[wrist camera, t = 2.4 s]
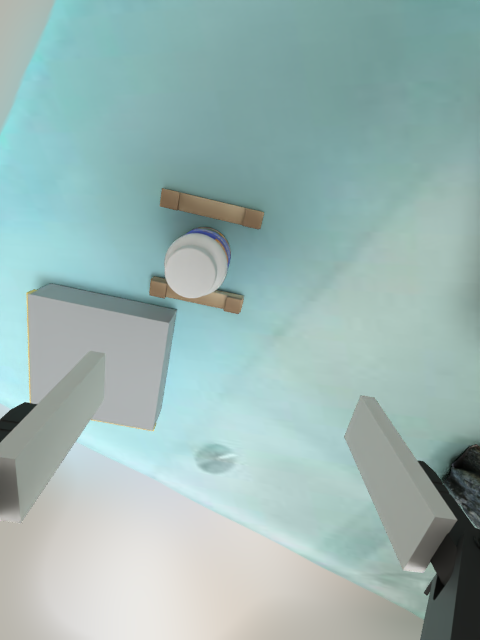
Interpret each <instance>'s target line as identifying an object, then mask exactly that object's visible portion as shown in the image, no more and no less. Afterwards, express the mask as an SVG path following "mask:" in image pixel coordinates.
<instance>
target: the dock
mask: <svg viewBox="0 0 480 640" xmlns="http://www.w3.org/2000/svg"><path fill="white" fill-rule="evenodd" d="M176 312H177V310H175V309H170V308H166V307H161V306H156V305H151V304H147V303H142V302H137V301H132V300H128V299H123V298H118V297H113V296H109V295H104V294H99V293H94V292H90V291H85V290H80V289H75V288H71V287H66V286H61V285H56V284H48V285H46V286H44V287H42V288H39V289H37V290H35V289H34V290H32V291H29V292H27V325H28V358H29V391H30V403H33V404H38V403H39V402H40V401H41V400H42V399H43V398H44V397H45V396H46V395H47V394H48V393H49V392H50V391H51V390H52V389H53V388H54V387H55V386H56V385H57V384H58V383H59V382H60V381H61V380H62V379H63V378H64V377H65V376H66V375H67V374H68V373H69V372H70V371H71V370H72V369H73V367H74V366H75V365H76V364H77V363H78V362H79V361H80V360H81V359H82V358H83V357H84V356H85V355H86V354H87V353H88V352H89V351H94V352H100V353H106V355H105V382H104V400H103V402H102V403H101V405H100V406H99V408H98V409H97V411H96V412H95V414H94V415H93V417H92V418H91V420H94V421H99V422H105V423H110V424H116V425H121V426H127V427H132V428H138V429H144V430H149V431H154V428H155V426H156V421H157V419H158V416H159V414H160V411H161V407H162V401H163V395H164V388H165V382H166V376H167V369H168V363H169V357H170V350H171V344H172V338H173V331H174V325H175V319H176Z"/></svg>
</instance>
